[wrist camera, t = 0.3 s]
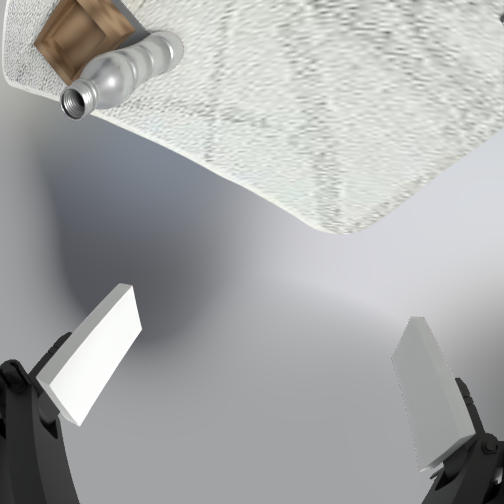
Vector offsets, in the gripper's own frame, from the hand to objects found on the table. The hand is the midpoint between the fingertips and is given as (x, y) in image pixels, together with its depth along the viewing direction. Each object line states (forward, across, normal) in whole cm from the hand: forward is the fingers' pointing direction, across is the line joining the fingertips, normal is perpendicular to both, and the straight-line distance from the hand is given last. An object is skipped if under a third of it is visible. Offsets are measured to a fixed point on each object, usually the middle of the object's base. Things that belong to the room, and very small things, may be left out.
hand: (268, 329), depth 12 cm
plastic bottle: (+27, -18, +21) cm, 39 cm away
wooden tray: (+24, -32, +27) cm, 49 cm away
